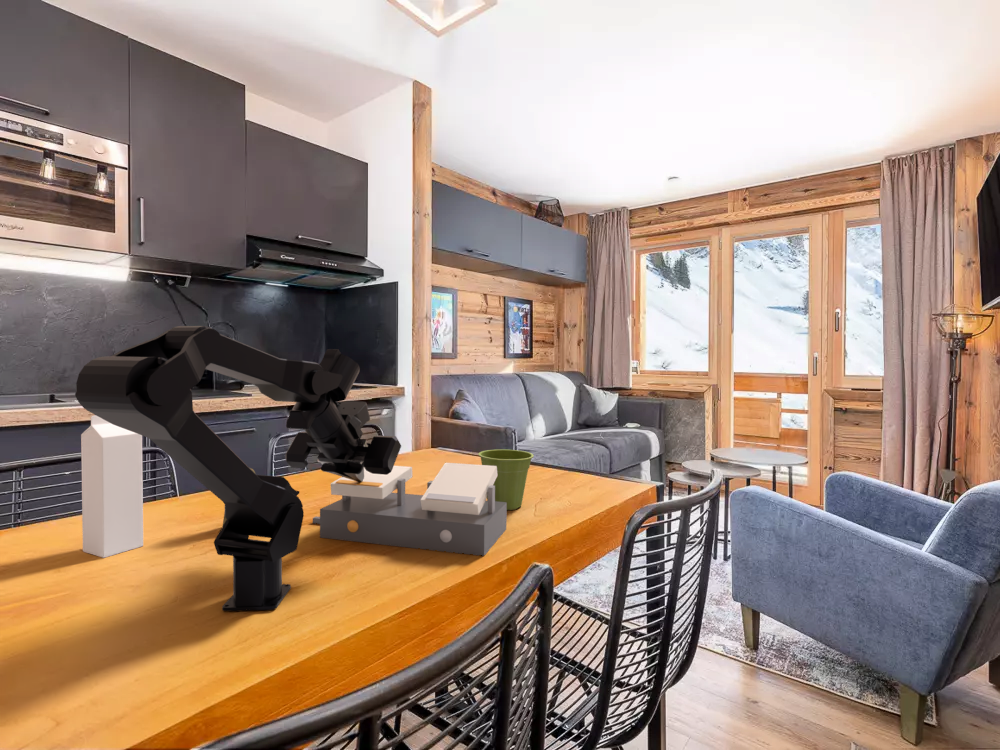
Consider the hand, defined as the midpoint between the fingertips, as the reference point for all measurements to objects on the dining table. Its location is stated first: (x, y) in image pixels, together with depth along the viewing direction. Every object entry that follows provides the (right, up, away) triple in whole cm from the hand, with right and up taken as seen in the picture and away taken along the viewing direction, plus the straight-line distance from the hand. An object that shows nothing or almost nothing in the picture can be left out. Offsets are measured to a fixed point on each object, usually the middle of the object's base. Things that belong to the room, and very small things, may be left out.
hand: (361, 479), depth 93 cm
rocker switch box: (+6, -10, +3) cm, 12 cm away
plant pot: (+26, -10, +20) cm, 34 cm away
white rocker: (+18, -1, 0) cm, 18 cm away
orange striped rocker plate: (+1, -1, +4) cm, 4 cm away
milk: (-38, -10, -7) cm, 40 cm away
